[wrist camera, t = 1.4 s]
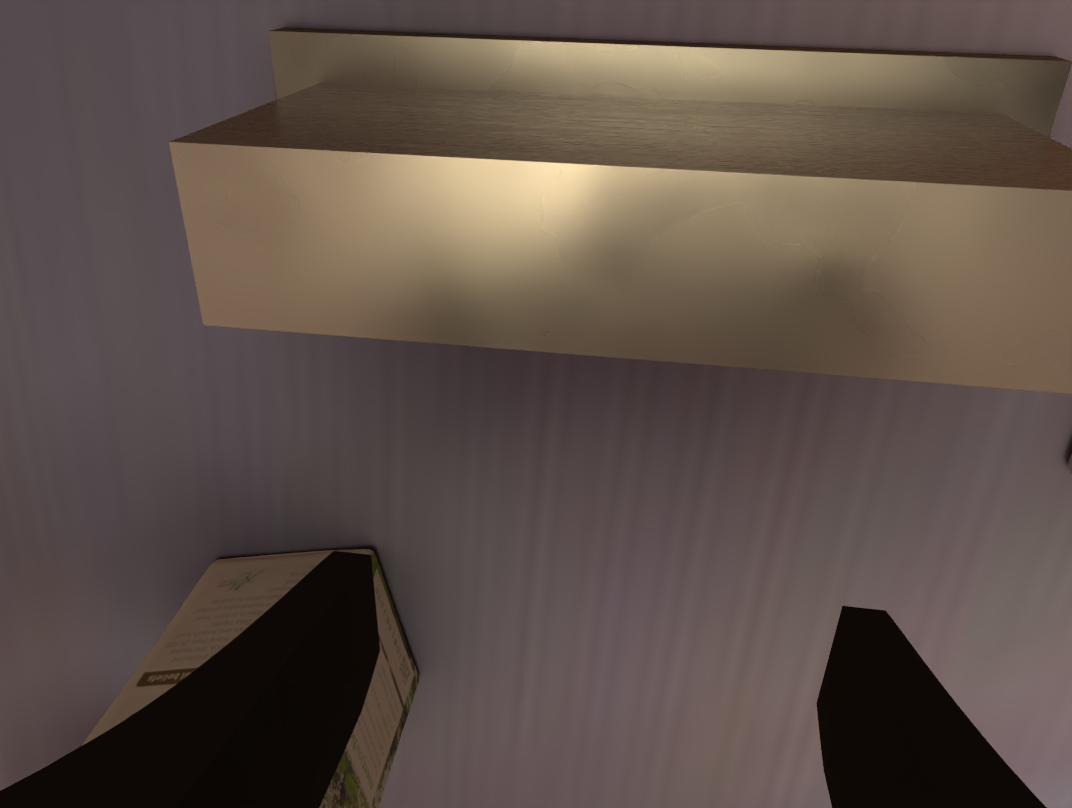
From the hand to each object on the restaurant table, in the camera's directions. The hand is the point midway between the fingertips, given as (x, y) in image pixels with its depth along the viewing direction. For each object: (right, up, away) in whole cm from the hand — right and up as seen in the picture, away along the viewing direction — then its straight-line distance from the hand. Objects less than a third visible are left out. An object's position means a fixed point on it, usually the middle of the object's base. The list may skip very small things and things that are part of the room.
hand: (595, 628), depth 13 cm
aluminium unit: (+1, +9, +6) cm, 11 cm away
